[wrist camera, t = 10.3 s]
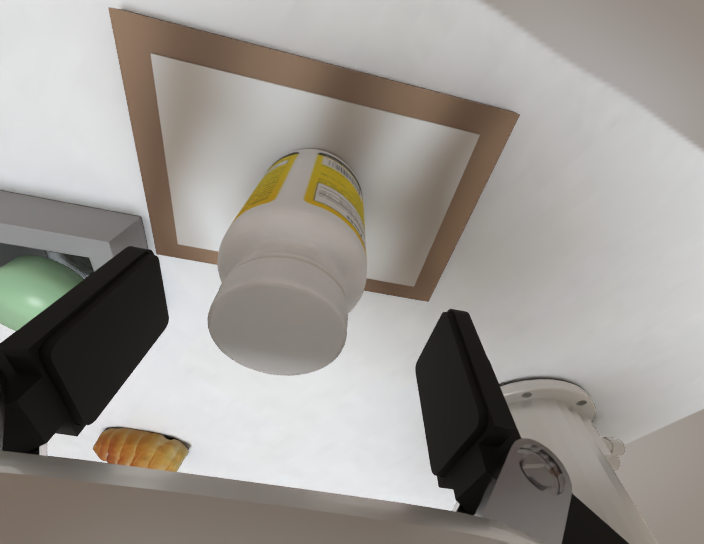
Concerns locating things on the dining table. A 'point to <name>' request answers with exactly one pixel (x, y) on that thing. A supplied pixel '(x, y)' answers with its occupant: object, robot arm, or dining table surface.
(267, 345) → the supplement bottle
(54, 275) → the button
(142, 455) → the pastry
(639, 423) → the dining table surface
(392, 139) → the board
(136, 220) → the button housing
